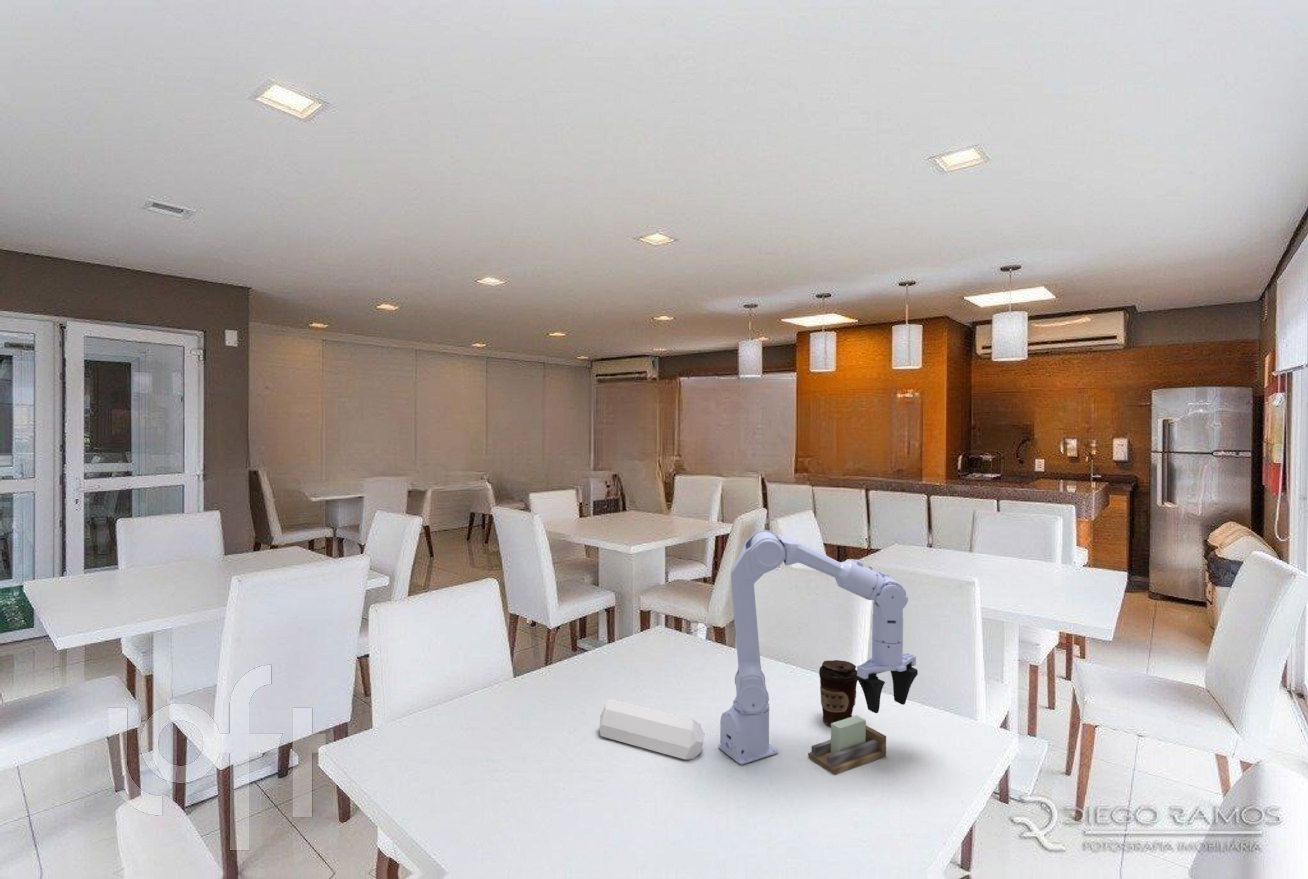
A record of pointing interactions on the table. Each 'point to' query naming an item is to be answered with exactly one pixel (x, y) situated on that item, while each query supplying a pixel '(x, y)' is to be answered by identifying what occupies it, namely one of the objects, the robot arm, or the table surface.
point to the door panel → (847, 733)
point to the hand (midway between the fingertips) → (886, 706)
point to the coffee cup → (837, 690)
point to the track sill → (849, 753)
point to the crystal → (652, 729)
